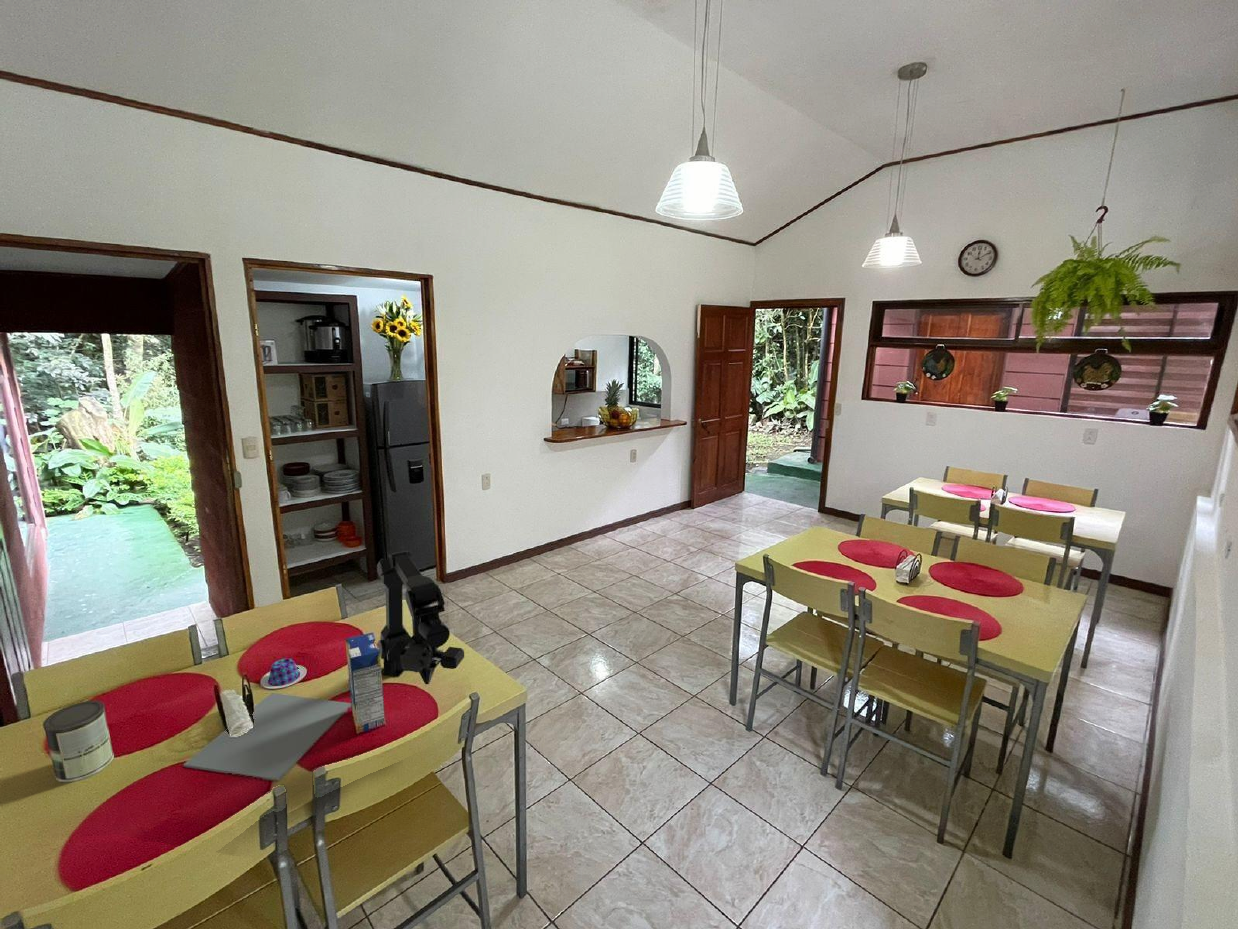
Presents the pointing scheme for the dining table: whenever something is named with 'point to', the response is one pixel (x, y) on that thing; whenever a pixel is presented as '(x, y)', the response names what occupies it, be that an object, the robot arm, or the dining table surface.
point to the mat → (271, 737)
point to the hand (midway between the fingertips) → (427, 683)
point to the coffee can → (78, 740)
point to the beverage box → (365, 682)
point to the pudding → (283, 674)
